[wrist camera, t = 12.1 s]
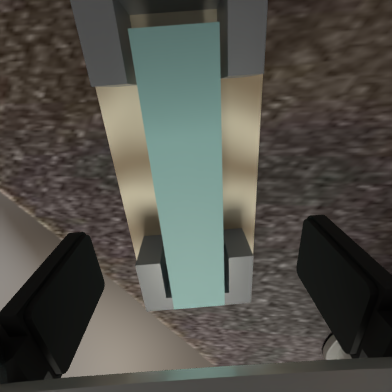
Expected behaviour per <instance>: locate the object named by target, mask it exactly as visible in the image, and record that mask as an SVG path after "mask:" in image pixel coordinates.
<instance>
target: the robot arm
mask: <svg viewBox="0 0 392 392" xmlns="http://www.w3.org/2000/svg"><path fill="white" fill-rule="evenodd" d="M297 274H298V276H299V278H300V279H301V281H302V283H303V284H304V286H305V288H306V289H307V291H308V293H309V294H310V296H311V298H312V300H313V301H314V303H315V305H316V306H317V308H318V310H319V311H320V313H321V315H322V316H323V318H324V320H325V321H326V323H327V325H328V326H329V328H330V330H331V331H332V333H333V335H332V336H331V337H330V338H329V339H328V340H327V342H326V343H325V346H324V348H323V358H324V360H317V361H301V362H285V363H269V364H253V365H238V366H223V367H208V368H194V369H180V370H165V371H150V372H137V373H124V374H109V375H96V376H82V377H69V378H61V376H62V374H64V373H66V372H67V370H68V369H69V367H70V364H71V362H72V360H73V358H74V355H75V353H76V351H77V349H78V346H79V344H80V342H81V339H82V337H83V335H84V333H85V331H86V328H87V326H88V323H89V321H90V319H91V317H92V315H93V312H94V310H95V308H96V306H97V303H98V301H99V299H100V297H101V294H102V292H103V290H104V279H103V275H102V272H101V269H100V266H99V263H98V260H97V257H96V254H95V251H94V247H93V244H92V241H91V238H90V236H89V235H86V234H85V233H84V232H77V233H69V234H68V235H67V236H66V237H65V238H64V239H63V240H62V241H61V243H60V244H59V245H58V246H57V248H55V249H54V251H53V252H52V253H51V254H50V255H49V256H48V257H47V259H46V260H45V261H44V262H43V263H42V264H41V265H40V267H39V268H38V269H37V270H36V271H35V272H34V273H33V275H32V276H31V277H30V278H29V279H28V280H27V282H26V283H25V284H24V285H23V286H22V287H21V288H20V290H19V291H18V292H17V293H16V294H15V295H14V296H13V298H12V299H11V300H10V301H9V302H8V303H7V305H6V306H5V307H4V308H3V309H2V310H1V311H0V392H392V275H391V274H390V273H389V272H388V271H386V270H385V269H384V268H383V267H382V266H381V265H380V264H379V263H378V262H376V261H375V260H374V259H373V258H372V257H371V256H370V255H369V254H368V253H366V252H365V251H364V250H363V249H362V248H361V247H360V246H359V245H357V244H356V243H355V242H354V241H353V240H352V239H351V238H350V237H349V236H347V235H346V234H345V233H344V232H343V231H342V230H341V229H340V228H339V227H337V226H336V225H335V224H334V223H333V222H332V221H331V220H330V219H328V218H327V217H326V216H325V215H312V216H309V217H308V218H307V219H305V220H304V222H303V229H302V235H301V242H300V248H299V255H298V261H297Z"/></svg>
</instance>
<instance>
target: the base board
mask: <svg viewBox="0 0 392 392" xmlns="http://www.w3.org/2000/svg"><path fill="white" fill-rule="evenodd" d="M130 22H131V28H143V27H156V26H170V25H183V24H197V23H210V22H217V9H207V10H194V11H180V12H166V13H152V14H139V15H130ZM262 80H263V74H259V75H254V76H249V77H241V78H227V79H221V129H222V183H223V230H225V229H237V228H242V229H243V231H244V234H245V236H246V239H247V241H248V244H249V246H250V249H251V251H252V253H253V244H254V226H255V208H256V189H257V171H258V153H259V135H260V117H261V98H262ZM96 91H97V96H98V100H99V104H100V108H101V112H102V117H103V121H104V125H105V129H106V133H107V138H108V142H109V146H110V150H111V154H112V158H113V163H114V167H115V171H116V175H117V179H118V184H119V188H120V192H121V196H122V200H123V205H124V209H125V213H126V217H127V221H128V226H129V230H130V234H131V238H132V242H133V247H134V251H135V255H136V259H137V258H138V254H139V251H140V247H141V244H142V240H143V237H144V236H151V235H162V233H161V227H160V221H159V215H158V209H157V203H156V197H155V191H154V185H153V179H152V173H151V167H150V161H149V155H148V149H147V143H146V137H145V131H144V124H143V118H142V112H141V106H140V100H139V94H138V88H137V85H135V86H122V87H96Z"/></svg>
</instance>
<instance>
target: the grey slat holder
mask: <svg viewBox="0 0 392 392" xmlns="http://www.w3.org/2000/svg"><path fill="white" fill-rule="evenodd" d="M70 2H71V6H72V10H73V14H74V18H75V22H76V26H77V30H78V34H79V39H80V43H81V47H82V51H83V55H84V59H85V63H86V67H87V71H88V75H89V79H90V83H91V87H122V86H135V85H137V82H136V76H135V70H134V64H133V58H132V52H131V46H130V40H129V34H128V29H129V28H131V22H130V15H139V14H152V13H166V12H180V11H194V10H207V9H217V22H220V74H221V79H227V78H241V77H249V76H254V75H259V74H264V61H265V43H266V25H267V8H268V0H70ZM223 237H224V292H225V305H228V304H240V303H251V291H252V273H253V253H252V251H251V249H250V246H249V244H248V241H247V239H246V236H245V234H244V231H243V229H242V228H237V229H225V230H223ZM135 267H136V271H137V275H138V279H139V283H140V287H141V291H142V295H143V299H144V303H145V307H146V311H157V310H169V309H174V306H173V300H172V294H171V288H170V282H169V276H168V270H167V264H166V258H165V252H164V246H163V240H162V235H151V236H144V237H143V240H142V244H141V247H140V251H139V254H138V258H137V261H136V265H135Z"/></svg>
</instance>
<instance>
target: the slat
mask: <svg viewBox="0 0 392 392" xmlns="http://www.w3.org/2000/svg"><path fill="white" fill-rule="evenodd" d="M128 34H129V40H130V46H131V52H132V58H133V64H134V70H135V76H136V82H137V88H138V94H139V100H140V106H141V112H142V118H143V124H144V131H145V137H146V143H147V149H148V155H149V161H150V167H151V173H152V179H153V185H154V191H155V197H156V203H157V209H158V215H159V221H160V227H161V233H162V240H163V246H164V252H165V258H166V264H167V270H168V276H169V282H170V288H171V294H172V300H173V306H174V309H184V308H196V307H207V306H219V305H225V292H224V237H223V183H222V129H221V74H220V22H210V23H197V24H183V25H170V26H156V27H143V28H129V29H128Z"/></svg>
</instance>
